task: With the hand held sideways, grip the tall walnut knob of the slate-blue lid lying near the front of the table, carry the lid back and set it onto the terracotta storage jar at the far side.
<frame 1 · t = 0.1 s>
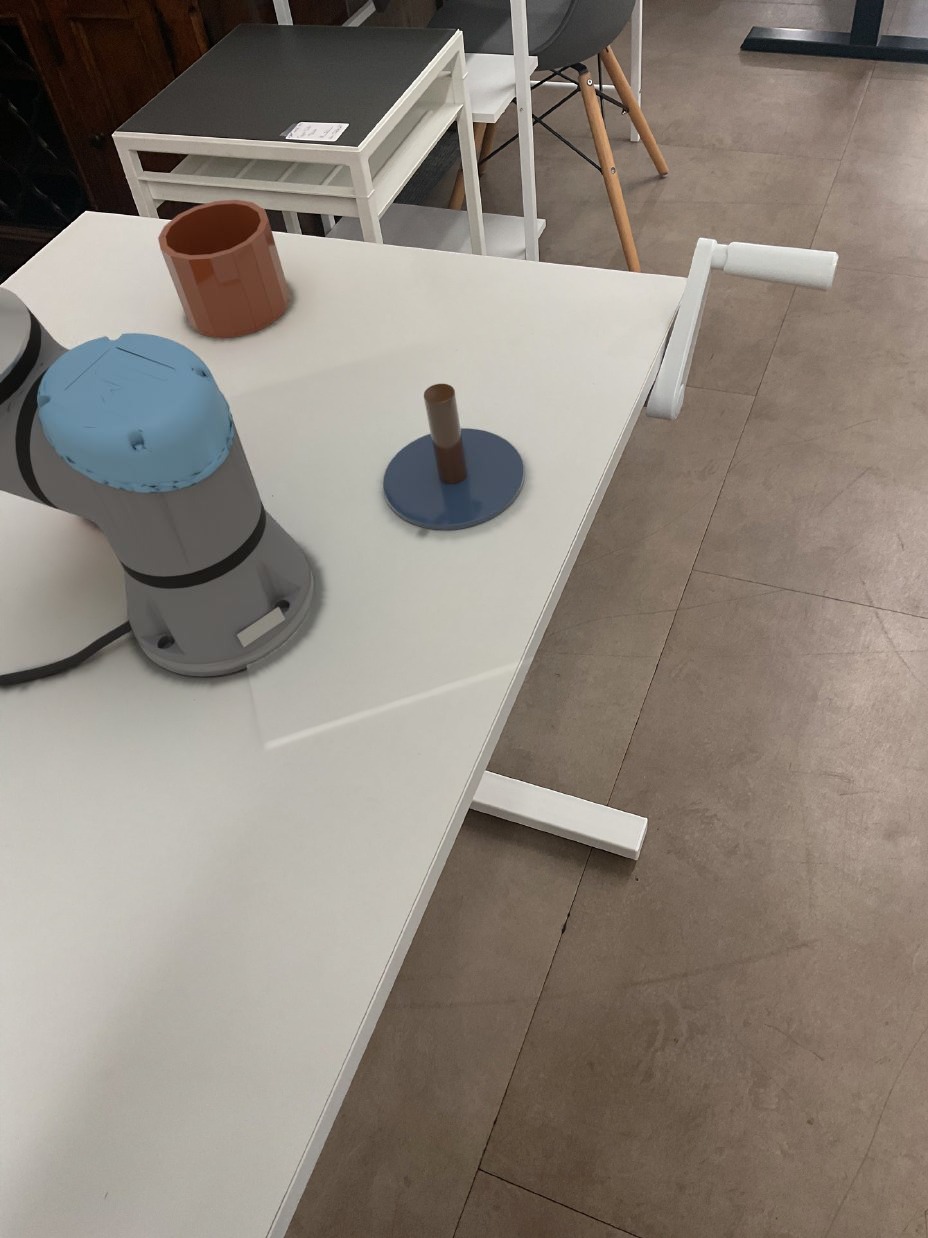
jar: (239, 306, 113), on the table
lid: (453, 479, 90), point 1 cm above the table
lever: (134, 464, 98), on the table
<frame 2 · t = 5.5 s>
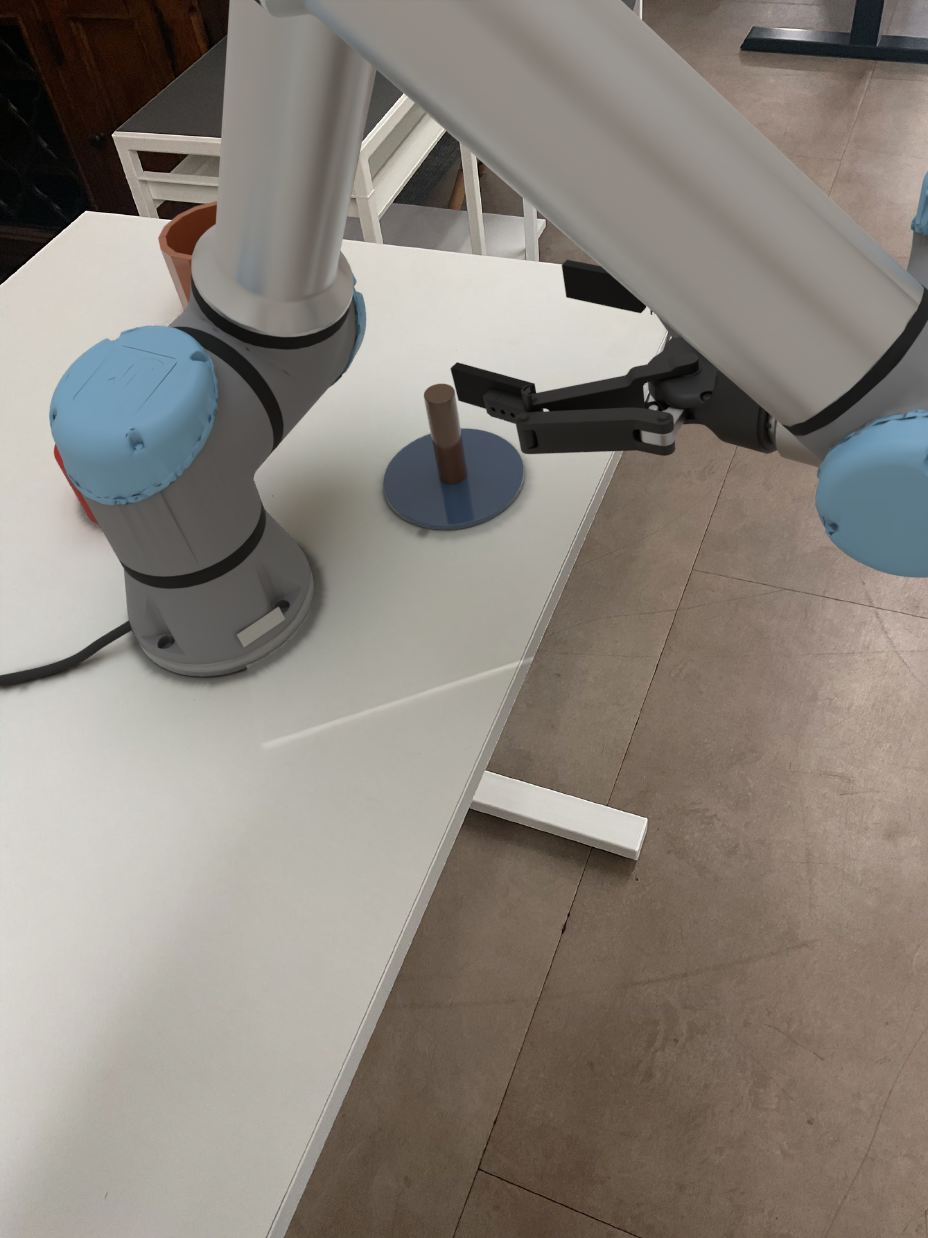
hand: (513, 327, 72), 19 cm above the table, tool horizontal, fingers open, 13 cm apart
nothing on the table moved.
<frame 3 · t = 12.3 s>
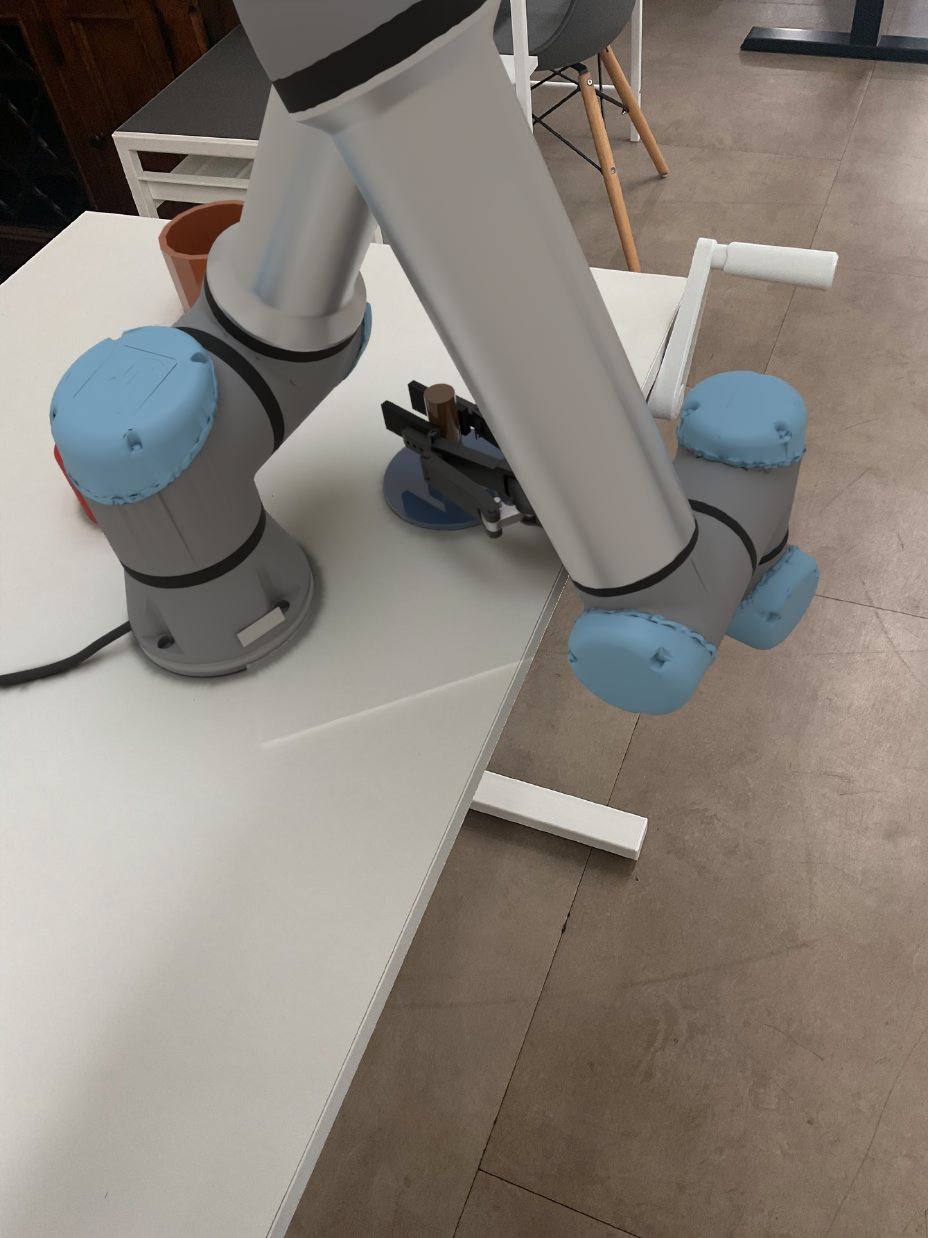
hand: (400, 404, 88), 7 cm above the table, tool horizontal, fingers closed on lid, 3 cm apart
lid: (453, 479, 90), point 1 cm above the table, touching gripper
everything else where it was.
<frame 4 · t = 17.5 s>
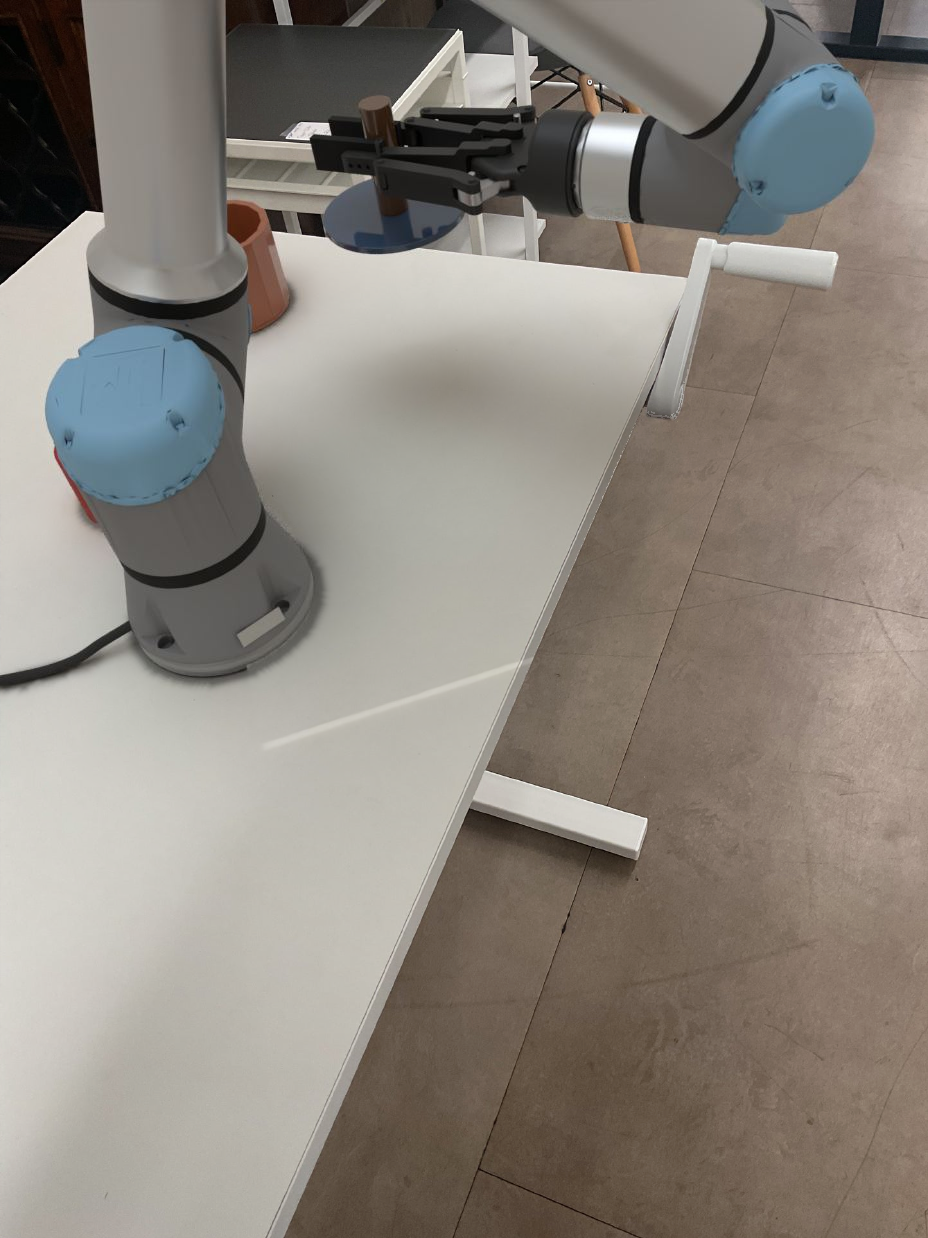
hand: (324, 142, 85), 23 cm above the table, tool horizontal, fingers closed on lid, 3 cm apart
lid: (394, 214, 88), point 17 cm above the table, touching gripper
everything else where it was.
when the fingers open (15 cm above the table, at t = 22.8 s): lid stays where it is, resting on jar.
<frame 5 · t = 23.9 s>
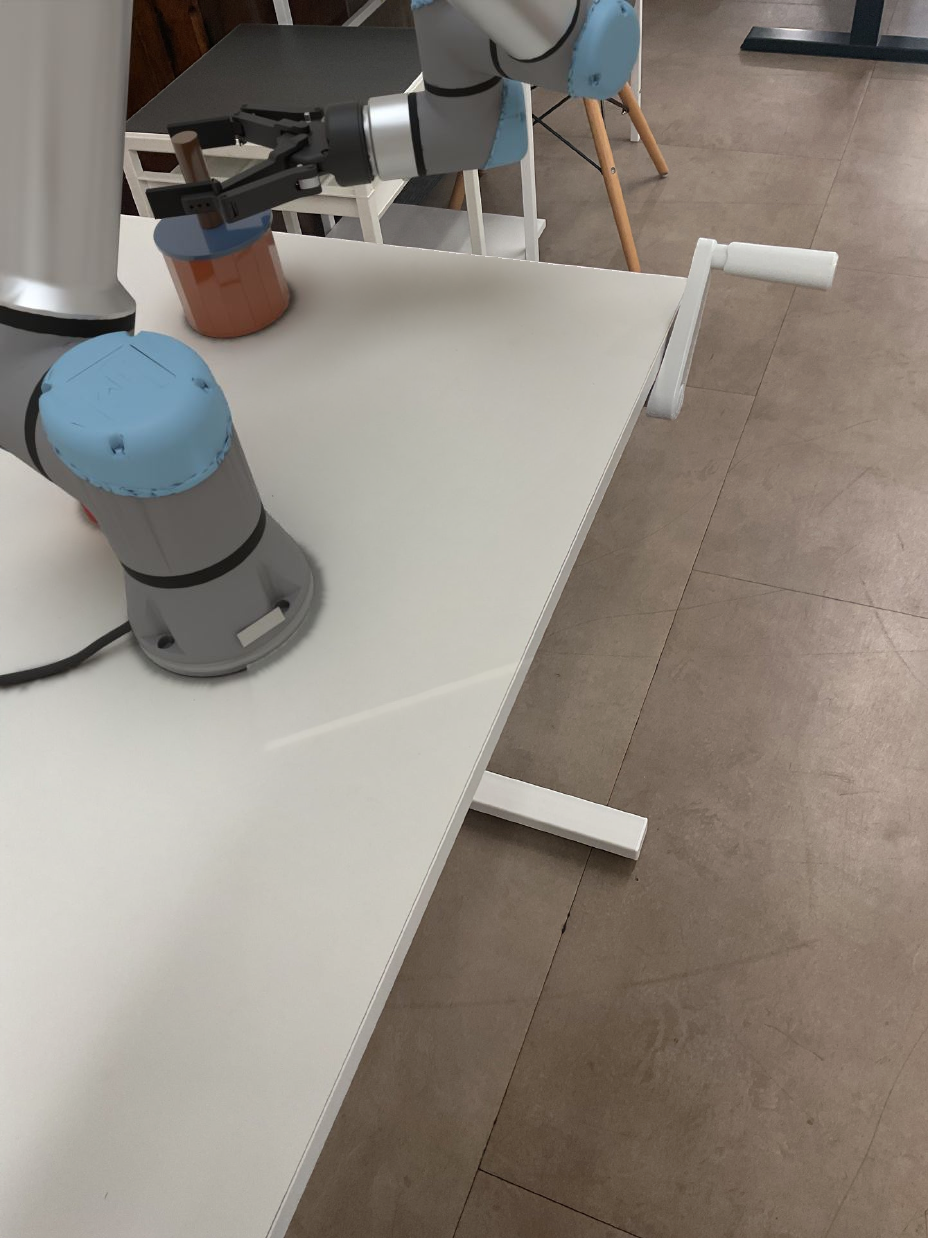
hand: (161, 170, 101), 16 cm above the table, tool horizontal, fingers open, 13 cm apart
lid: (214, 227, 106), point 9 cm above the table, touching jar
everything else where it was.
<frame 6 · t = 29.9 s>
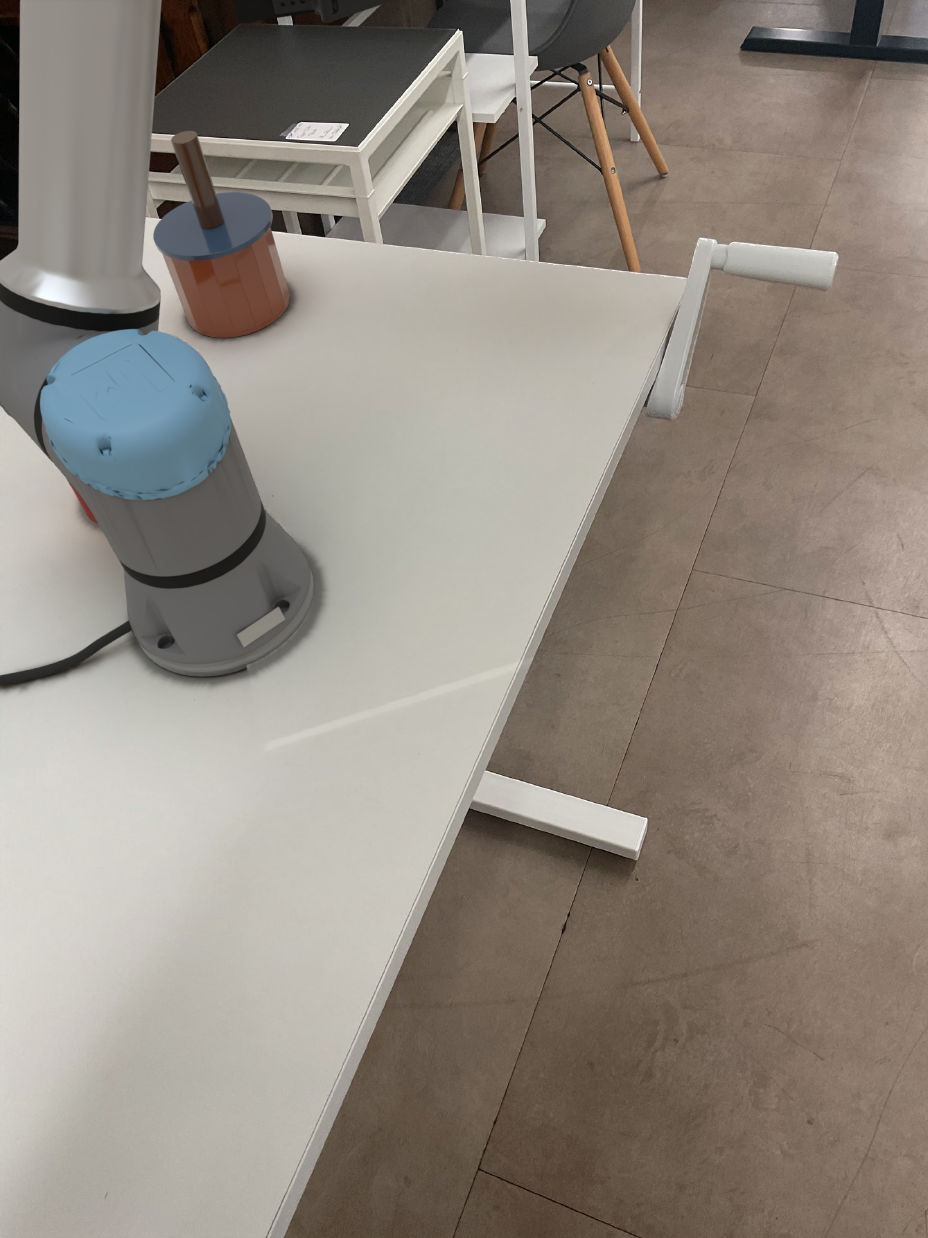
nothing on the table moved.
at the end: lid 0.1 cm off-centre on the jar, point 9.5 cm above the jar's base; lid tilted 0°; the gripper is holding nothing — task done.
